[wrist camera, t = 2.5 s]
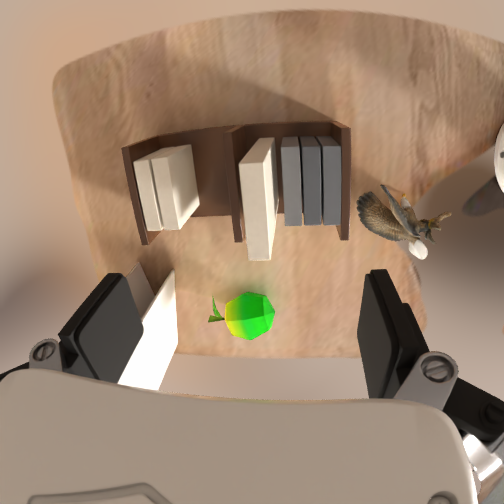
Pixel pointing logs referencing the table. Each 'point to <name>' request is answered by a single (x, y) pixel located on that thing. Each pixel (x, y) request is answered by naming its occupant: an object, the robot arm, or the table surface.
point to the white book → (259, 197)
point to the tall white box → (152, 331)
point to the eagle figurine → (397, 221)
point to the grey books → (311, 180)
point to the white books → (167, 187)
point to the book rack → (235, 167)
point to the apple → (247, 315)
